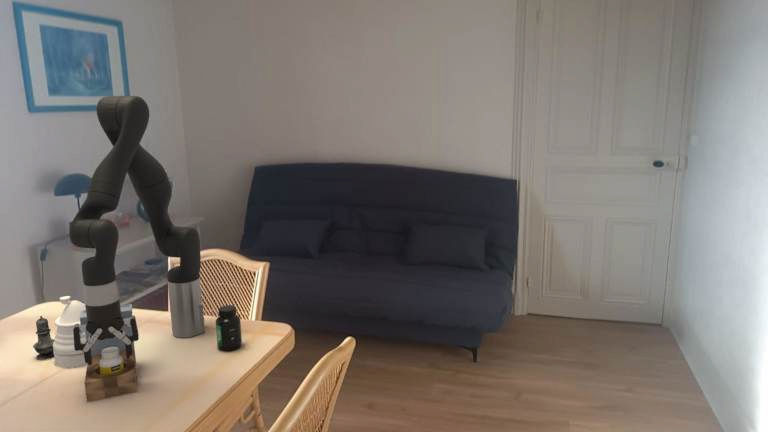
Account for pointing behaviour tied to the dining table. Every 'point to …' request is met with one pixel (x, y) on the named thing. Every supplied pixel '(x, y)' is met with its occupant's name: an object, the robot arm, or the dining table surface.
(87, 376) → the socket
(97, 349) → the wall
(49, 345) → the dark grey chess piece
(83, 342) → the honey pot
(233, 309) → the supplement bottle
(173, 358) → the dining table surface
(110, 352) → the supplement bottle
